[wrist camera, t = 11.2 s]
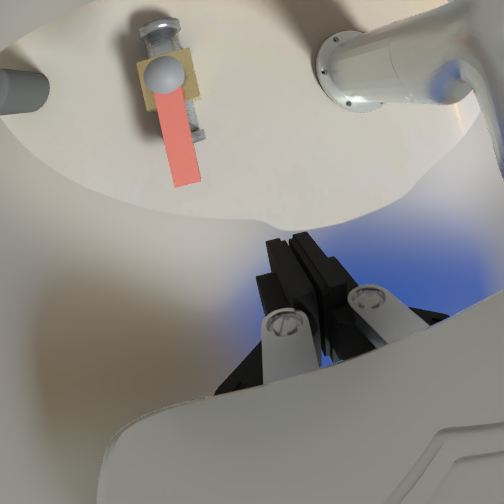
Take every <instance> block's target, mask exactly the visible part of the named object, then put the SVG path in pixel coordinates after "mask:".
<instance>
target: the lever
mask: <svg viewBox="0 0 504 504" xmlns="http://www.w3.org/2000/svg"><path fill="white" fill-rule="evenodd" d="M143 78H144V83H145V85H146V86H147V88H148V89H150V90H151V91H153V92H154V96H155V101H156V106H157V111H158V116H159V121H160V125H161V130H162V135H163V139H164V144H165V148H166V153H167V157H168V161H169V165H170V170H171V174H172V178H173V182H174V186H175V187H179V186H184V185H188V184H192V183H196V182H201V176H200V172H199V167H198V162H197V158H196V153H195V148H194V144H193V139H192V134H191V129H190V124H189V119H188V115H187V110H186V104H185V99H184V94H183V89H182V86H183V85H184V82H185V78H186V75H185V71H184V69H183V67H182V65H181V63H180V62H179V61H178V60H177V59H175V58H173V57H171V56H161V57H158V58H155V59H154V60H152V61H151V62H150V63H149V64H148V65H147V67H146V68H145V71H144V75H143Z"/></svg>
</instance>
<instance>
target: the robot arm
mask: <svg viewBox="0 0 504 504" xmlns="http://www.w3.org/2000/svg"><path fill="white" fill-rule="evenodd" d="M334 40H335V42H334ZM316 71H317V76H318V79H319V82H320V84H321V86H322V88H323V90H324V91H325V93H326V94H327V95H328V96H329V98H330V99H332V100H333V101H334V102H335V103H336V104H338V105H339V106H341V107H342V108H344V109H347V110H349V111H353V112H360V113H366V112H372V111H376V110H378V109H380V108H381V107H383V106H384V105H385V104H386V103H387V102H389V103H413V104H427V105H451V104H454V103H457V102H459V101H461V100H462V99H464V98H465V97H466V96H467V95H468V94H469V93H470V92H471V90H472V89H473V91H474V93H475V95H476V98H477V100H478V103H479V105H480V108H481V110H482V112H483V115H484V118H485V121H486V124H487V127H488V131H489V134H490V137H491V141H492V144H493V148H494V152H495V155H496V159H497V163H498V166H499V169H500V172H501V175H502V178H503V179H504V0H454V1H452V2H450V3H447V4H445V5H442V6H440V7H438V8H435V9H432V10H430V11H427V12H424V13H421V14H418V15H415V16H411V17H408V18H405V19H403V20H399V21H396V22H393V23H390V24H388V25H385V26H382V27H379V28H377V29H374V30H371V31H369V32H366V33H361V32H358V31H342V32H339V33H336V34H334V35H332V36H330V37H329V38H328V39H326V40H325V41H324V43H323V44H322V45H321V47H320V49H319V51H318V54H317V58H316ZM322 71H323V72H324V74H322ZM346 102H347V105H346ZM266 247H267V252H268V257H269V262H270V267H271V272H272V273H268V274H264V275H260V276H256V281H257V286H258V290H259V294H260V298H261V302H262V306H263V310H264V313H265V316H266V317H265V318H264V320H263V321H262V325H261V335H262V340H261V341H260V343H259V344H258V345H257V346H256V347H255V348H254V349H253V350H252V351H251V353H250V354H249V355H248V356H247V357H246V358H245V359H244V360H243V361H242V363H241V364H240V365H239V366H238V367H237V368H236V369H235V370H234V371H233V372H232V374H230V375H229V377H228V378H227V379H226V380H225V381H224V382H223V383H222V384H221V385H220V386H219V387H218V389H217V390H216V392H215V394H214V396H211V397H207V398H205V396H201V397H198V398H196V399H193V400H190V401H187V402H184V403H180V404H176V405H172V406H168V407H165V408H163V409H160V410H157V411H154V412H151V413H149V414H147V415H145V416H142V417H140V418H138V419H136V420H134V421H132V422H131V423H129V424H127V425H126V426H124V427H123V428H122V429H120V430H119V431H118V432H117V433H116V434H115V435H114V436H113V438H112V439H111V441H110V443H109V445H108V447H107V449H106V452H105V455H104V459H103V462H102V466H101V471H100V476H99V482H98V491H97V500H96V504H504V290H502V291H500V292H498V293H496V294H494V295H492V296H490V297H488V298H486V299H484V300H482V301H480V302H479V303H476V304H475V305H473V306H471V307H469V308H467V309H465V310H463V311H461V312H459V313H456V314H453V315H452V316H451V317H450V316H449V315H446V314H442V313H437V312H432V311H426V310H422V309H416V308H411V307H407V306H405V305H404V304H403V303H402V302H401V301H399V300H398V299H397V298H396V297H395V296H394V295H392V294H391V293H390V292H389V291H387V290H386V289H384V288H383V287H381V286H377V285H370V284H369V285H362V286H358V284H357V283H356V282H355V281H354V279H352V277H351V276H350V275H349V273H348V272H347V271H346V270H345V269H344V267H343V266H342V265H341V264H340V262H339V261H338V260H337V259H336V258H335V257H333V256H332V257H329V258H327V256H326V255H325V254H324V252H323V251H322V250H321V249H320V248H319V246H318V245H317V244H316V243H315V241H314V240H313V239H312V238H311V236H310V235H309V234H308V233H307V232H302V233H298V234H294V235H293V238H292V239H289V245H288V244H287V242H286V241H285V240H284V241H281V240H280V239H279V238H277V239H273V240H269V241H266ZM321 349H322V351H323V354H324V355H325V356H328V355H330V357H331V359H332V362H333V363H334V362H337V361H340V360H344V361H341V362H338V363H335V364H332V365H329V366H326V367H323V368H320V366H321V365H322V363H321ZM319 368H320V369H319Z"/></svg>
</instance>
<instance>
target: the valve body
mask: <svg viewBox="0 0 504 504" xmlns="http://www.w3.org/2000/svg"><path fill="white" fill-rule="evenodd" d="M180 30H181V27H180V22H179V19H177V18H162V19H158V20H154V21H151V22H149V23H147V24H145V25H143V26H142V27H141V28H140V29H139V34H140V39H141V40H142V41H145V43H146V48H147V53H148V58H149V59H147V60H144V61H140V62H137V63H136V65H137V70H138V74H139V79H140V83H141V88H142V92H143V97H144V101H145V105H146V109H147V111H152V112H157V106H156V101H155V96H154V92H153V91H151V90H150V89H148V88H147V86H146V85H145V83H144V78H143V75H144V71H145V68H146V67H147V65H148V64H149V63H150V62H151V61H152V60H154V59H155V58H158V57H161V56H171V57H173V58H175V59H177V60H178V61H179V62H180V63H181V65H182V67H183V69H184V71H185V75H186V78H185V82H184V85H183V86H182V89H183V94H184V99H185V104H186V110H187V115H188V119H189V124H190V129H191V134H192V139H193V143H195V142H198V141H201V140H204V139H206V137H205V133H204V129H201V130H199V126H198V121H197V117H196V113H195V109H194V104H193V101H196V100H200V99H201V97H200V92H199V88H198V84H197V79H196V75H195V70H194V66H193V62H192V57H191V53H190V49H189V48H185V49H181V47H180V42H179V38H178V32H179V31H180Z"/></svg>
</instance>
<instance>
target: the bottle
mask: <svg viewBox="0 0 504 504" xmlns="http://www.w3.org/2000/svg"><path fill="white" fill-rule="evenodd" d="M48 95H49V81H48V79H47V78H46V77H45V76H44V75H42V74H38V73H32V72H26V71H18V70H9V69H0V115H8V114H18V113H27V112H34V111H36V110H38V109H39V108H41V107H42V106H43V104H44V103H45V102H46V100H47V98H48Z"/></svg>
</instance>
